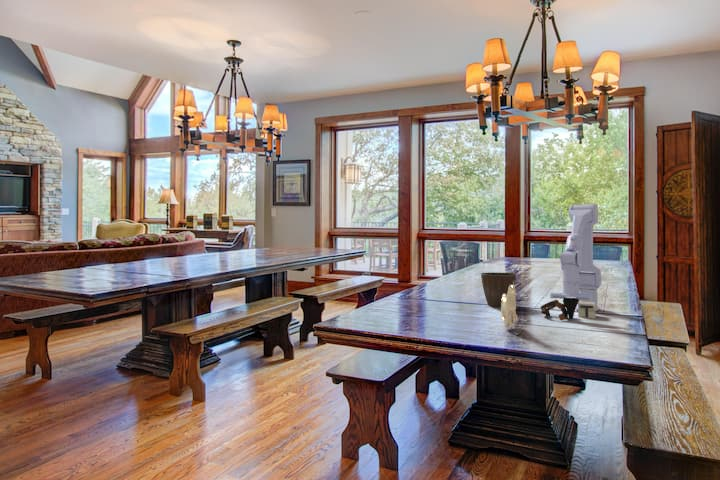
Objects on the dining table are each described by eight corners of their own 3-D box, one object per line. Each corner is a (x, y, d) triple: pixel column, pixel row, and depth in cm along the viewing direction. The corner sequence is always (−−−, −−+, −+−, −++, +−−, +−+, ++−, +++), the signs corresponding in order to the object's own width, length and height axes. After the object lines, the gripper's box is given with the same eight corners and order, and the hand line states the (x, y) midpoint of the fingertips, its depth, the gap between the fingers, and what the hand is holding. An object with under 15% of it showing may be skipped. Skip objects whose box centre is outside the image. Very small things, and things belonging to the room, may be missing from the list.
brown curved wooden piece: (556, 322, 182) (546, 302, 185) (543, 329, 190) (533, 310, 193) (581, 313, 186) (570, 294, 189) (567, 321, 194) (557, 302, 197)
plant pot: (520, 312, 206) (520, 274, 206) (485, 312, 206) (485, 274, 206) (510, 307, 221) (510, 272, 221) (477, 307, 221) (477, 272, 221)
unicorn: (497, 322, 182) (497, 276, 182) (508, 322, 181) (508, 276, 181) (508, 332, 162) (508, 280, 162) (520, 332, 162) (520, 281, 162)
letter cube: (578, 316, 196) (578, 301, 196) (595, 317, 193) (595, 302, 193) (578, 318, 190) (578, 303, 190) (595, 319, 188) (595, 304, 188)
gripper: (548, 282, 186) (548, 317, 186) (589, 284, 178) (589, 321, 178) (553, 281, 192) (553, 315, 192) (593, 282, 183) (593, 319, 183)
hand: (571, 318), depth 185 cm, fingers closed
